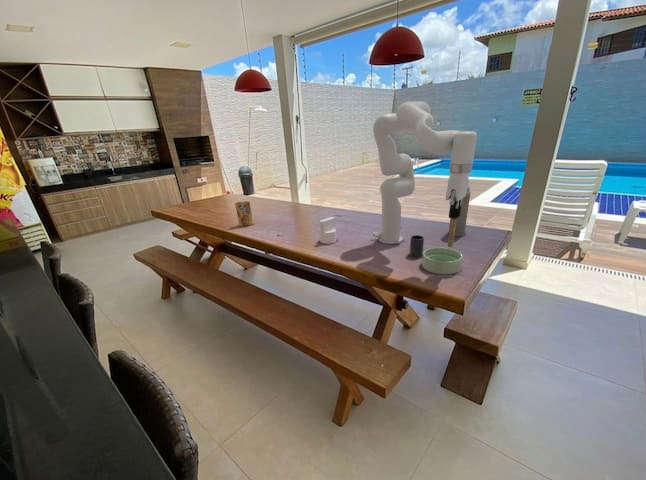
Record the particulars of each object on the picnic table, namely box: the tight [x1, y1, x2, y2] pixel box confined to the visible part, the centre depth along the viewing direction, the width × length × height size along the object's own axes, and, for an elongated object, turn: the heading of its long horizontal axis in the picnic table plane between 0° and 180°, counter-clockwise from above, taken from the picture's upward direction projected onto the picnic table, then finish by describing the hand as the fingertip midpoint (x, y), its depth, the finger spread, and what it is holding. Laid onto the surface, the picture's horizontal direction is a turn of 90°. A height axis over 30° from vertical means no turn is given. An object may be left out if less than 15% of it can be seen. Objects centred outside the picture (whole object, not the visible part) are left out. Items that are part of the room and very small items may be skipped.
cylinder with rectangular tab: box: [318, 216, 338, 245], centre depth 163 cm, size 9×9×12 cm
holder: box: [409, 234, 425, 258], centre depth 140 cm, size 6×6×9 cm
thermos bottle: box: [448, 180, 471, 237], centre depth 158 cm, size 8×8×28 cm
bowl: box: [421, 246, 464, 275], centre depth 128 cm, size 15×15×6 cm
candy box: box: [234, 199, 254, 227], centre depth 197 cm, size 9×4×15 cm, turn 103°
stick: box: [447, 202, 459, 248], centre depth 121 cm, size 2×2×18 cm
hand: (454, 216), depth 120 cm, fingers closed on stick, 2 cm apart
